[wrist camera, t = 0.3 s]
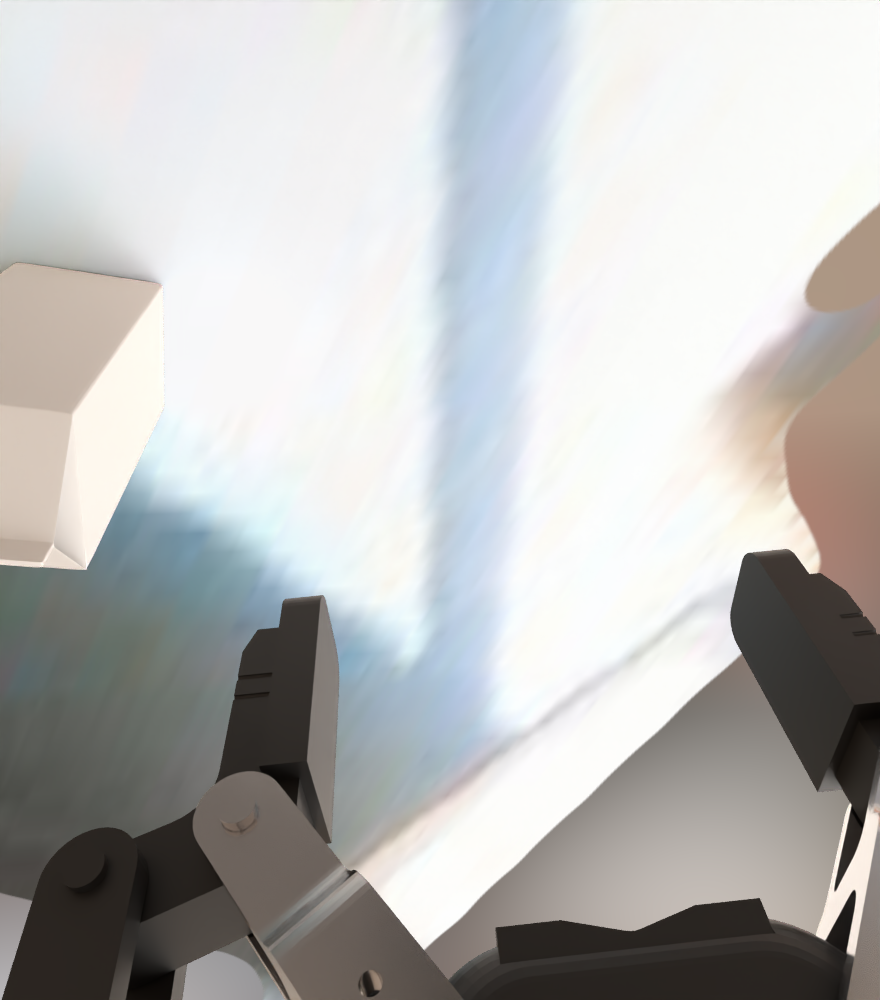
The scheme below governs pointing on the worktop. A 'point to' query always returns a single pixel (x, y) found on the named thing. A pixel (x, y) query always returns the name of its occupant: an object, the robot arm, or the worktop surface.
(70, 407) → the milk carton
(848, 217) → the worktop surface
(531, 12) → the worktop surface
